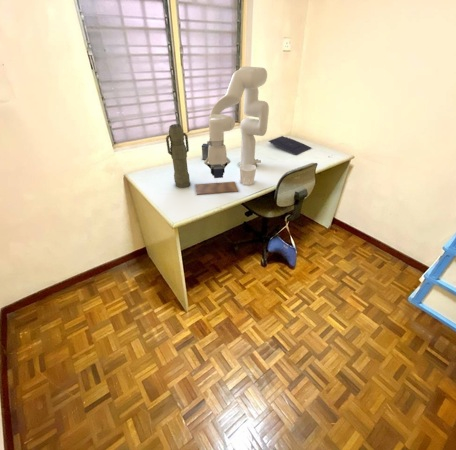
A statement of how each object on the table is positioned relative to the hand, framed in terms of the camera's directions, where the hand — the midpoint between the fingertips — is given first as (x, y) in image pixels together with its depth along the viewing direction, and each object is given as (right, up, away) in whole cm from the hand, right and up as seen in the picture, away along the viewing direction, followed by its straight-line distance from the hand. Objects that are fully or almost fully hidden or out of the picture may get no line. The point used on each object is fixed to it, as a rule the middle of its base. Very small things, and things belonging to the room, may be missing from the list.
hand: (217, 174), depth 145 cm
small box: (-9, +20, +44) cm, 49 cm away
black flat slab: (+55, +36, +66) cm, 93 cm away
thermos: (-22, -5, +9) cm, 24 cm away
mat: (-1, -8, +5) cm, 9 cm away
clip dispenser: (0, -1, 0) cm, 1 cm away
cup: (+18, -3, +13) cm, 22 cm away
